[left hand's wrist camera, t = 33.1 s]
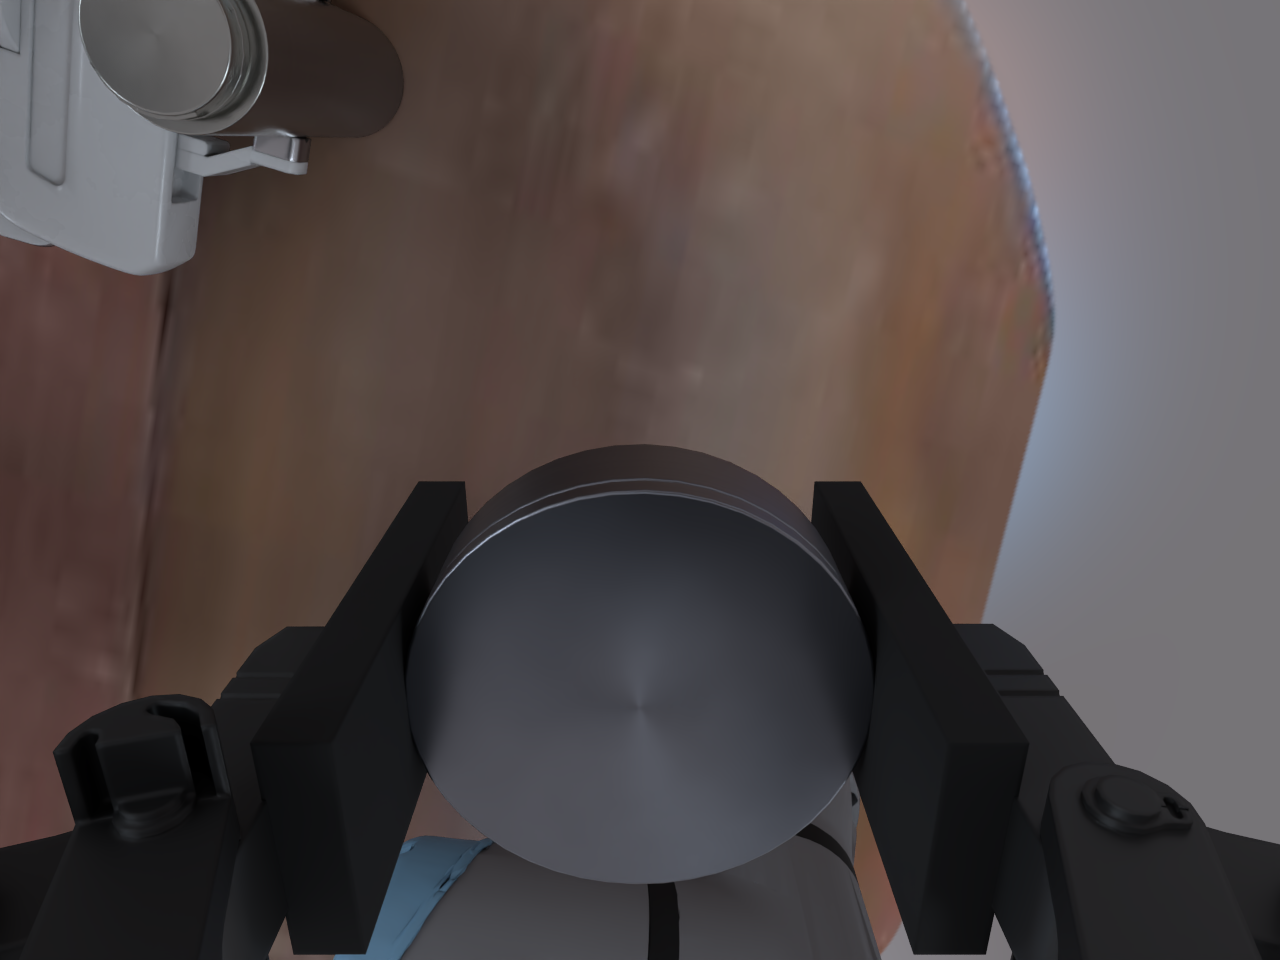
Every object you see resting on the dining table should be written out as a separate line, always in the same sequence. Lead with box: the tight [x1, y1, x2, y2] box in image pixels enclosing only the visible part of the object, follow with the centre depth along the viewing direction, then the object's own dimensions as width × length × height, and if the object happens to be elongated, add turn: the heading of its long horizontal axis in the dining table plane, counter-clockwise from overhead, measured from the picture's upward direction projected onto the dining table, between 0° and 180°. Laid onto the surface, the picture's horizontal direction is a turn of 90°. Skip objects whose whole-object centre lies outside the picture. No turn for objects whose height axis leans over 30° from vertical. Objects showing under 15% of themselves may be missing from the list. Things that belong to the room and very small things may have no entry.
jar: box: [78, 0, 404, 138], centre depth 33 cm, size 5×5×18 cm
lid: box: [404, 444, 875, 884], centre depth 11 cm, size 6×6×2 cm
